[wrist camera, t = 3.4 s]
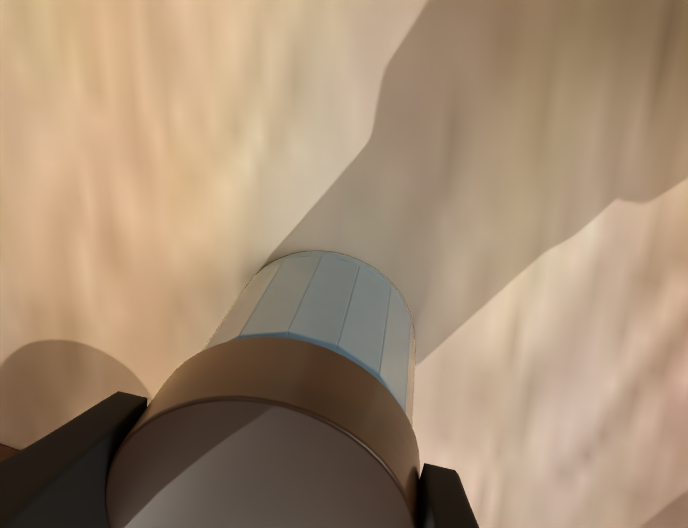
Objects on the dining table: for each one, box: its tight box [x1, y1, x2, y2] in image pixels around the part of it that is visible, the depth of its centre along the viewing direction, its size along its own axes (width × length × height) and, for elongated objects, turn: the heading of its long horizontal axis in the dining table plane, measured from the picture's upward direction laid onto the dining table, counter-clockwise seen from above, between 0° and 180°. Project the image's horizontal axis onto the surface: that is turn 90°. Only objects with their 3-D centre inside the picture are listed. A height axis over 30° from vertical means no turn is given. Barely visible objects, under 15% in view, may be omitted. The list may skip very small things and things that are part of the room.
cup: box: [202, 251, 415, 426], centre depth 15 cm, size 5×5×4 cm
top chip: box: [105, 337, 420, 528], centre depth 11 cm, size 6×6×2 cm
